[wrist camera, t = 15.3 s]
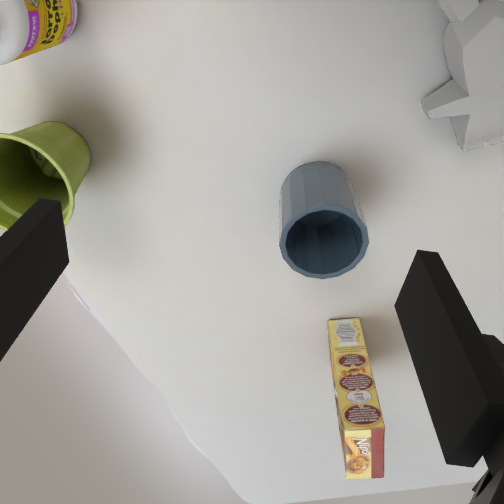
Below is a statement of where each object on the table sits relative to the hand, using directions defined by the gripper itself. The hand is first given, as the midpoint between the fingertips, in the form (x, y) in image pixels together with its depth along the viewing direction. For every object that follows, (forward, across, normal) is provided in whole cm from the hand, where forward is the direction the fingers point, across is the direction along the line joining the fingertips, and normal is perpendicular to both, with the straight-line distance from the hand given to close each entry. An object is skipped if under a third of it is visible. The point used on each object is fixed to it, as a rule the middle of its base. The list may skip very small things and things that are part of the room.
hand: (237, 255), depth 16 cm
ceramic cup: (+27, +7, -10) cm, 29 cm away
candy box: (+27, +15, -30) cm, 43 cm away
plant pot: (+27, -19, -9) cm, 34 cm away
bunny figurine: (+27, +17, +5) cm, 32 cm away
